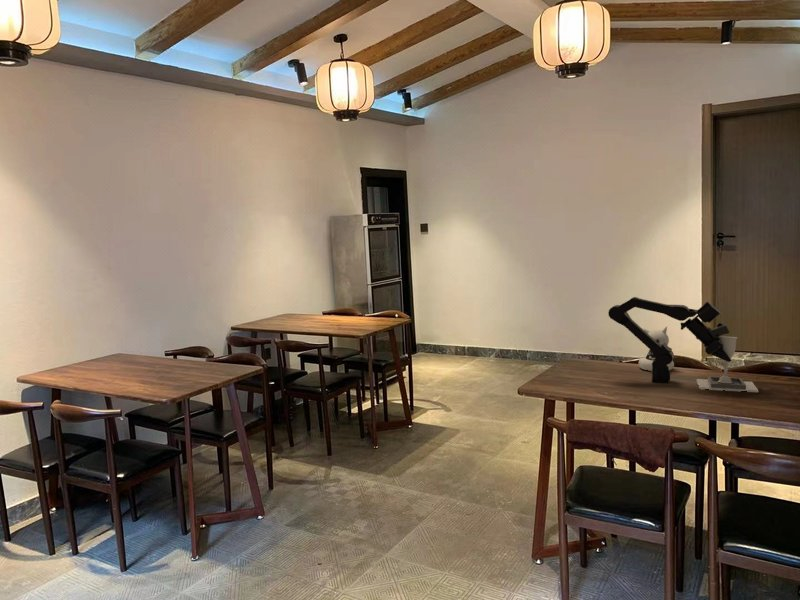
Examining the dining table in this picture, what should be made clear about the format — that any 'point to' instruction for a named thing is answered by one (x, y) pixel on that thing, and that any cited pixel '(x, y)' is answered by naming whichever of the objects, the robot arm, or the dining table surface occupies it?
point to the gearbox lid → (726, 385)
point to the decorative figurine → (647, 361)
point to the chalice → (729, 348)
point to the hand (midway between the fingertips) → (730, 359)
